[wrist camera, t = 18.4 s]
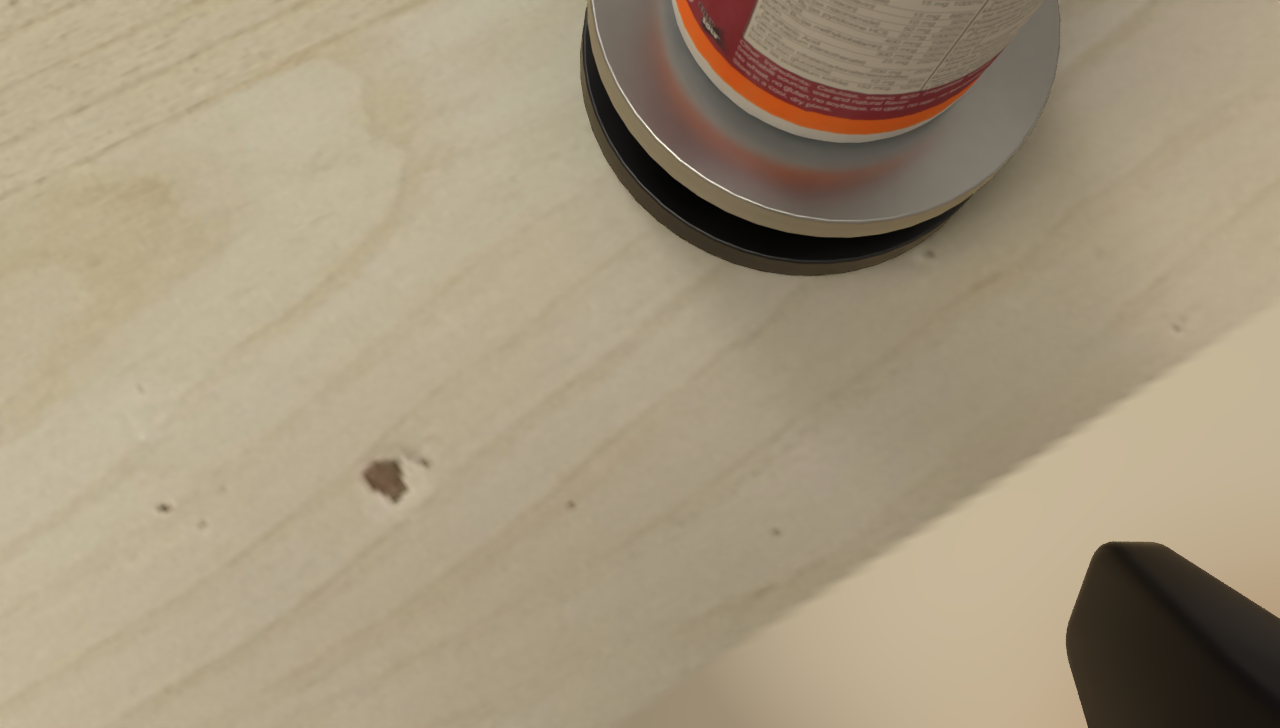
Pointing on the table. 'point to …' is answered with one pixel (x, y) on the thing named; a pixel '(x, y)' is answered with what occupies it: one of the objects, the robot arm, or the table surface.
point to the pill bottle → (847, 58)
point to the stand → (794, 149)
